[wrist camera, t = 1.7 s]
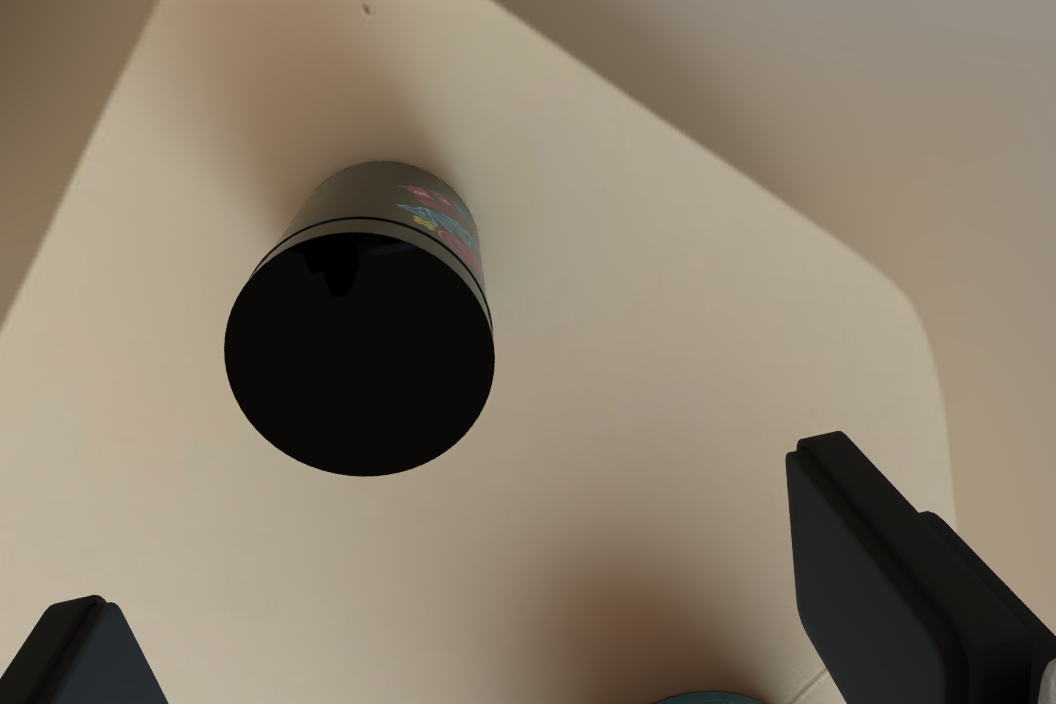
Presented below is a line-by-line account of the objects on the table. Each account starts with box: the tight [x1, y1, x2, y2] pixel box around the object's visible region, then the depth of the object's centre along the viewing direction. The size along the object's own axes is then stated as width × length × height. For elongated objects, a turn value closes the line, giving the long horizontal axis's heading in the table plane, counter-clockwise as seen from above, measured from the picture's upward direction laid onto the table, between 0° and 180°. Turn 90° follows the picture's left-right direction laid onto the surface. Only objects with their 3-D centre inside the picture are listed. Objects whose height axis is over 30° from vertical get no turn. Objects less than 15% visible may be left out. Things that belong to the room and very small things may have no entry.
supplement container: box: [224, 161, 495, 477], centre depth 25 cm, size 7×7×10 cm
